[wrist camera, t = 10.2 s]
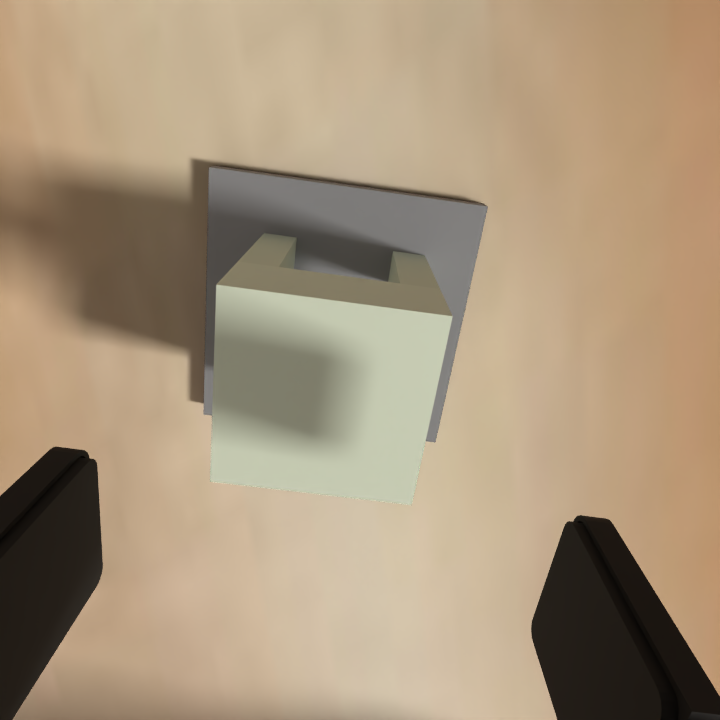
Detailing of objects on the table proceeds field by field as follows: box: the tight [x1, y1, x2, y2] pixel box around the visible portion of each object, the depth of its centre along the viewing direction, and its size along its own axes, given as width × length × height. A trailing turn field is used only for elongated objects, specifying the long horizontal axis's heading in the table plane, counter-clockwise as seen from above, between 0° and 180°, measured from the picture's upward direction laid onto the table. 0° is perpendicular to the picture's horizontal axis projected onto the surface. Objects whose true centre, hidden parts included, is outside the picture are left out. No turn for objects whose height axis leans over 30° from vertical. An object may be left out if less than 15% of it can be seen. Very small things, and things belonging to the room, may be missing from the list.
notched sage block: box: [210, 233, 453, 505], centre depth 18 cm, size 6×6×7 cm
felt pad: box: [204, 166, 488, 442], centre depth 22 cm, size 10×10×1 cm
